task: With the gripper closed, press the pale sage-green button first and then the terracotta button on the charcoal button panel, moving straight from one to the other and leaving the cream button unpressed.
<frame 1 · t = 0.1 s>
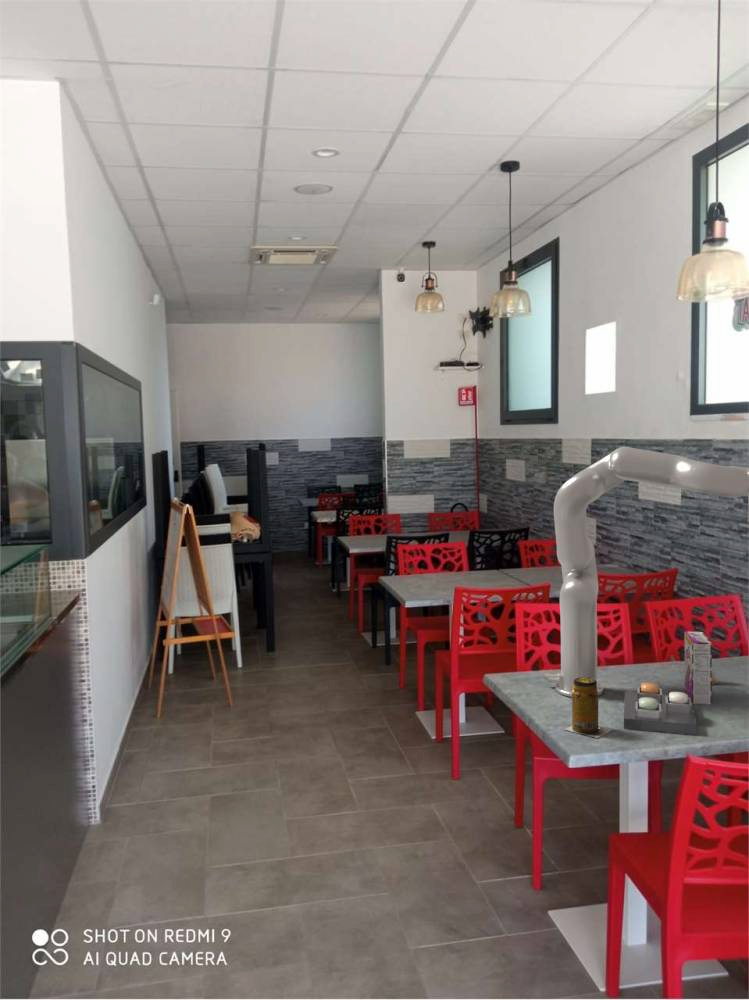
candy bar box: (697, 698, 205), on the table
sage button: (648, 704, 187), point 5 cm above the table, slide at 0.0 cm
terracotta button: (649, 688, 198), point 5 cm above the table, slide at 0.0 cm
beige lumpy figure: (701, 682, 218), on the table
cream button: (678, 698, 190), point 5 cm above the table, slide at 0.0 cm
condiment: (588, 731, 185), on the table
button panel: (658, 716, 192), on the table
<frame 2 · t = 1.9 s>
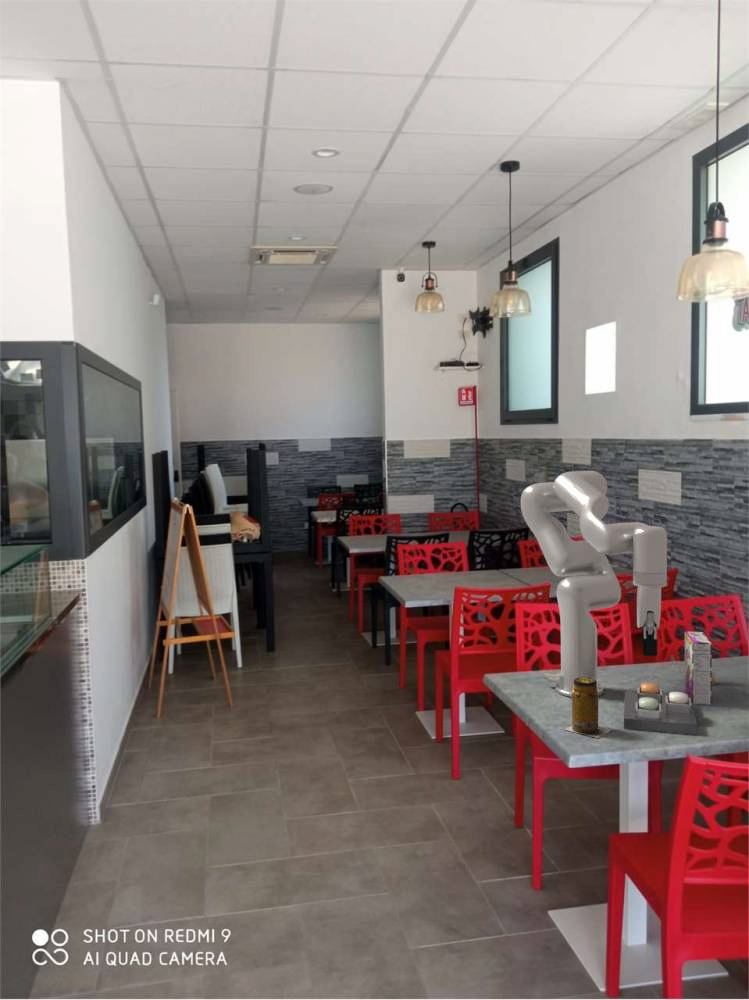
hand: (649, 650, 186), 18 cm above the table, tool pointing down, fingers open, 9 cm apart
nothing on the table moved.
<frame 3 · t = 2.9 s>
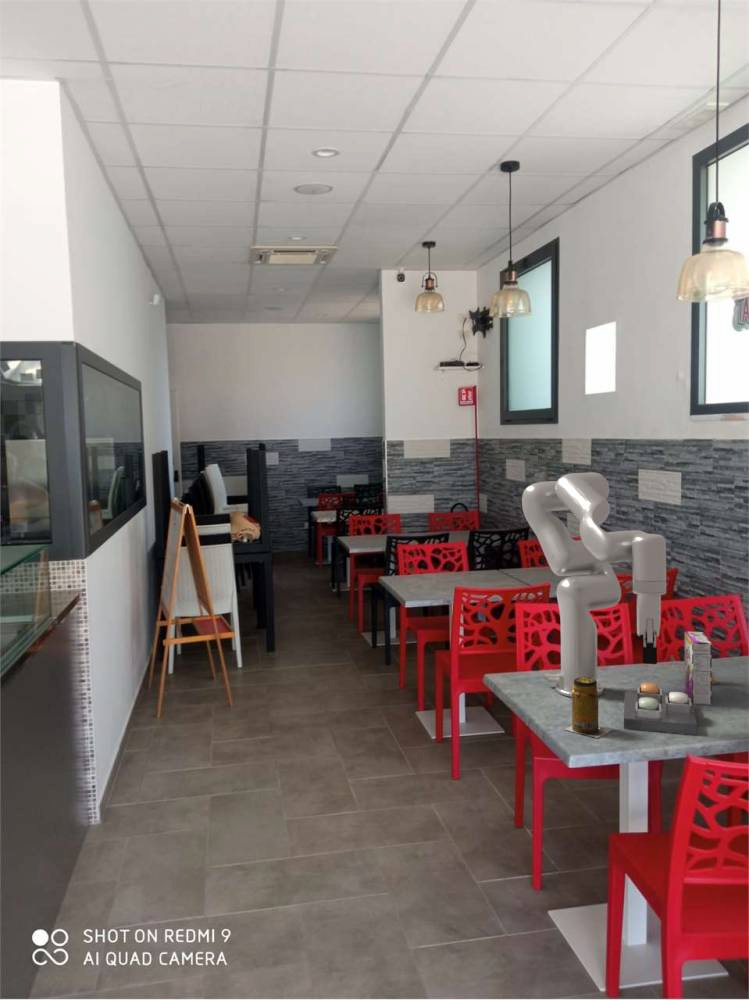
hand: (649, 662, 185), 15 cm above the table, tool pointing down, fingers closed
nothing on the table moved.
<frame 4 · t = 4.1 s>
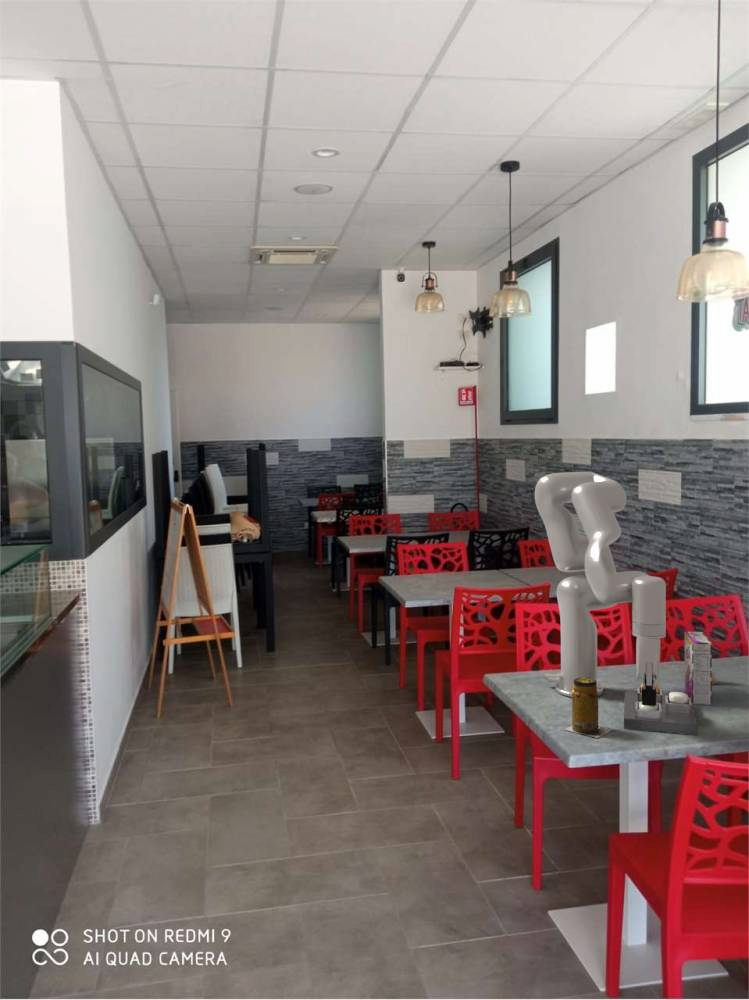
hand: (648, 704, 187), 5 cm above the table, tool pointing down, fingers closed
sage button: (648, 708, 187), point 4 cm above the table, slide at 0.9 cm, touching gripper
everything else where it was.
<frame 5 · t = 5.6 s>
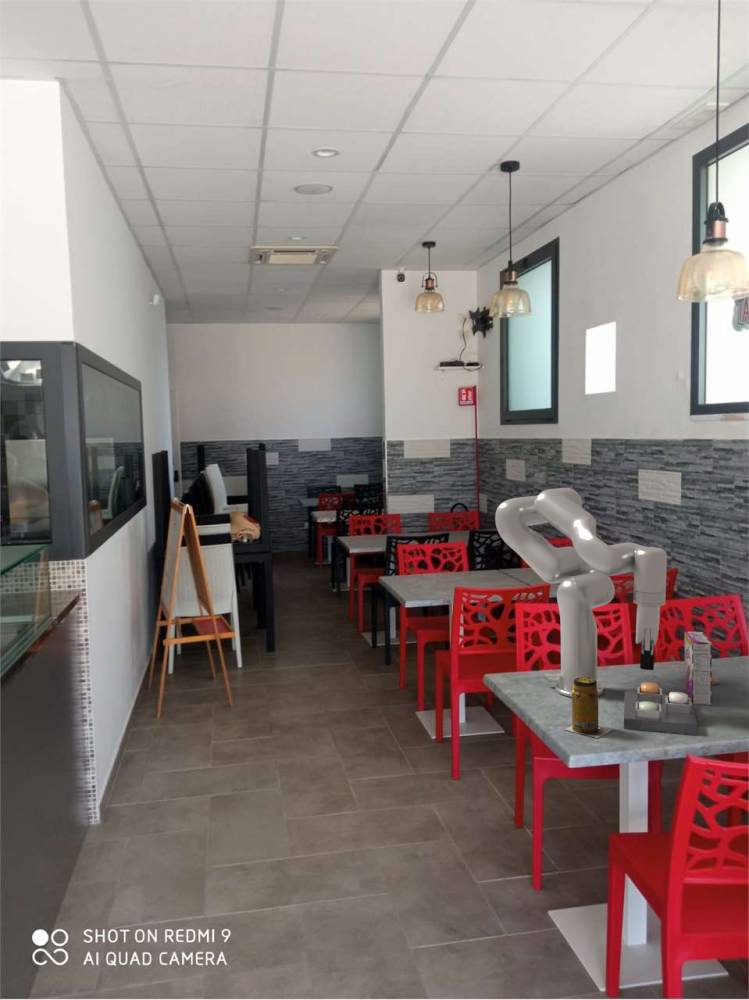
hand: (646, 668, 196), 11 cm above the table, tool pointing down, fingers closed
sage button: (648, 708, 187), point 4 cm above the table, slide at 1.0 cm
everything else where it was.
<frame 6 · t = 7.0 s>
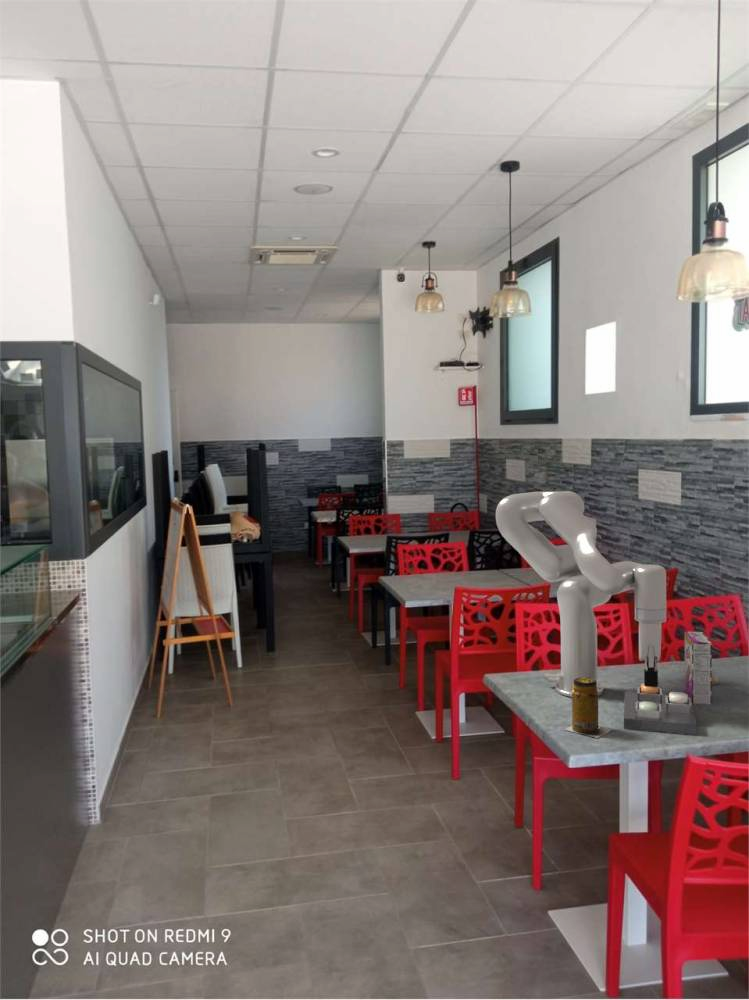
hand: (651, 685, 198), 6 cm above the table, tool pointing down, fingers closed
terracotta button: (649, 689, 198), point 5 cm above the table, slide at 0.1 cm, touching gripper
everything else where it was.
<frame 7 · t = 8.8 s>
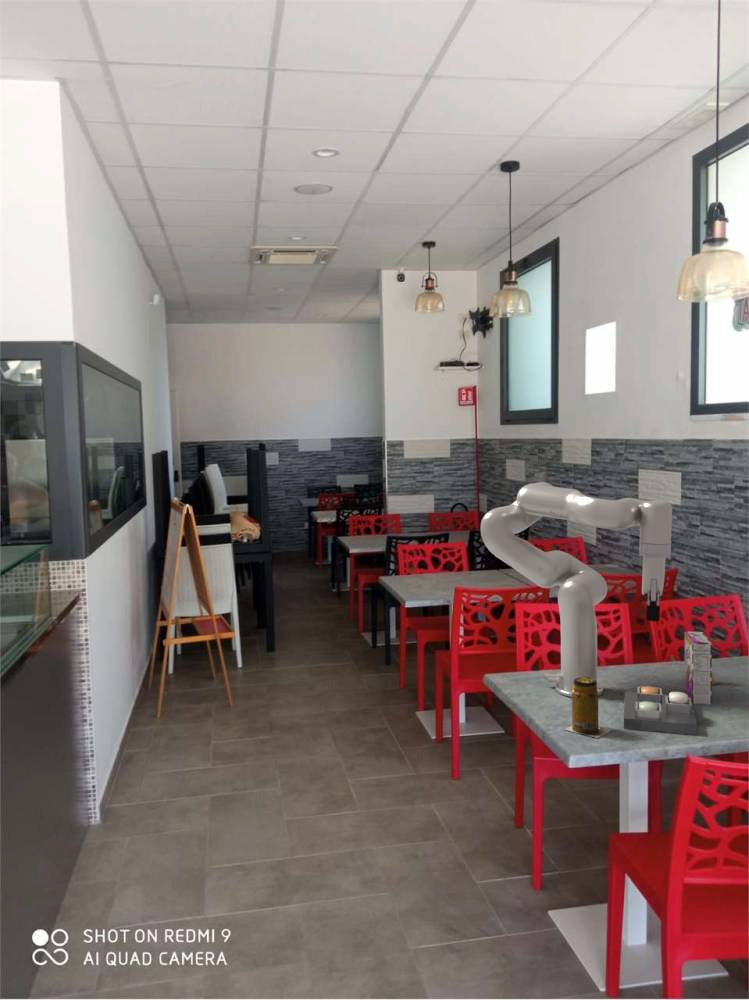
hand: (652, 620, 200), 22 cm above the table, tool pointing down, fingers closed
terracotta button: (649, 692, 198), point 4 cm above the table, slide at 1.0 cm
everything else where it was.
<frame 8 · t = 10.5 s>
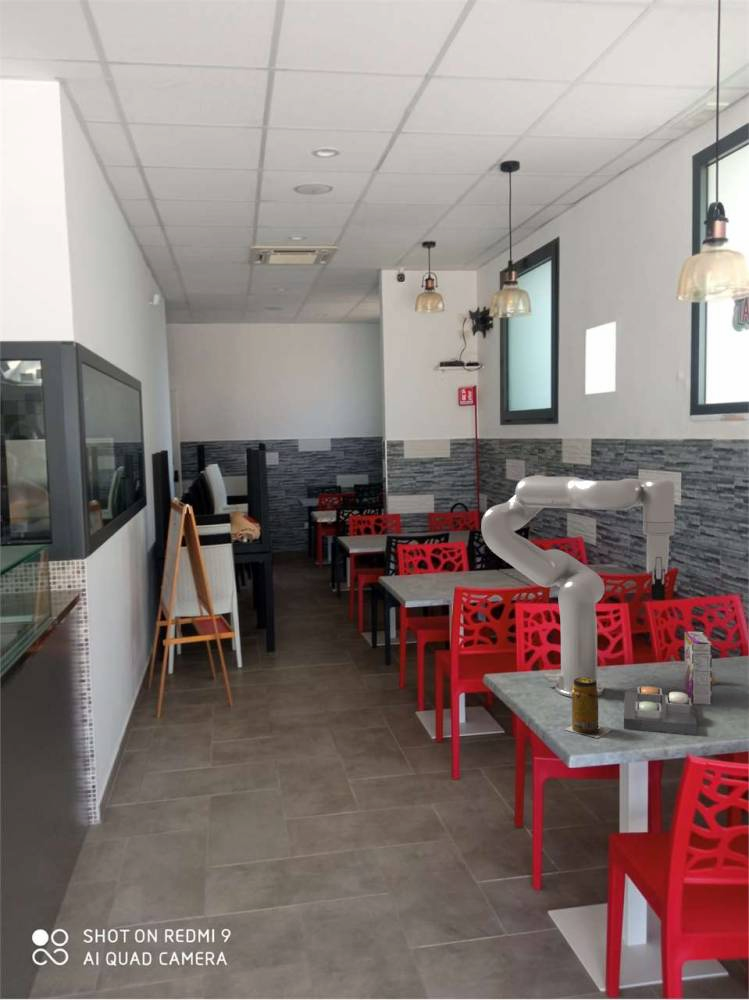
hand: (658, 599, 200), 27 cm above the table, tool pointing down, fingers closed
nothing on the table moved.
at the end: sage button slide at 1.0 cm; terracotta button slide at 1.0 cm; cream button slide at 0.0 cm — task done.
